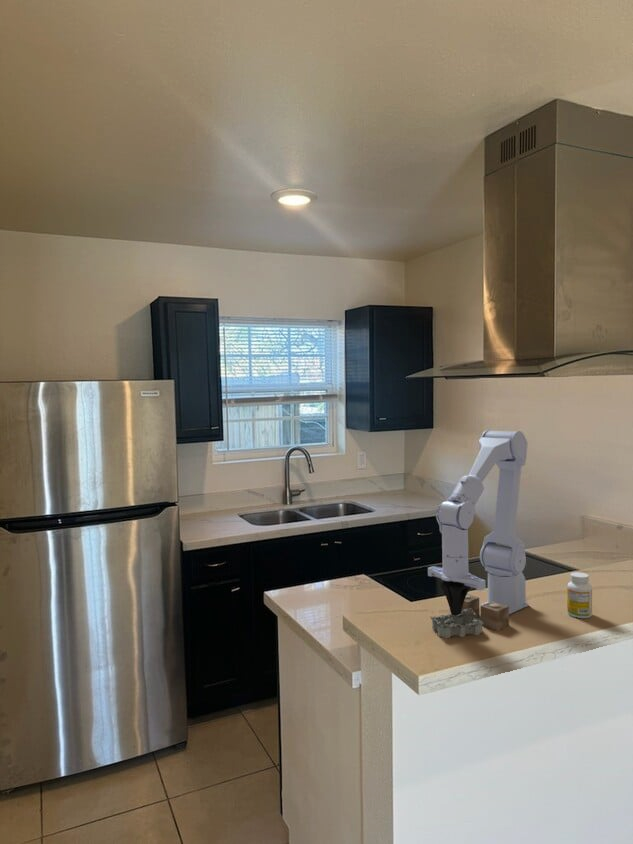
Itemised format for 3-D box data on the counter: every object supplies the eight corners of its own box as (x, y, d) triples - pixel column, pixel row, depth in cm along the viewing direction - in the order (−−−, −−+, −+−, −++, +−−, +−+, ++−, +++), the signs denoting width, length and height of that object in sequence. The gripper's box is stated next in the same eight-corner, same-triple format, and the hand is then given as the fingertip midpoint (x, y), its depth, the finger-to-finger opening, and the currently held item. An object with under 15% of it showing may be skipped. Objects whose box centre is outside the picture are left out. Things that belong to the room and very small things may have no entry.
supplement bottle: (575, 608, 144) (575, 569, 144) (596, 615, 140) (596, 574, 139) (562, 614, 141) (562, 574, 141) (584, 620, 137) (584, 579, 136)
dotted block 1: (464, 610, 145) (463, 592, 145) (479, 615, 142) (479, 596, 141) (452, 615, 142) (452, 596, 142) (468, 620, 139) (467, 601, 138)
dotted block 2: (491, 620, 139) (491, 600, 139) (508, 625, 135) (508, 605, 135) (480, 625, 136) (480, 605, 136) (497, 630, 133) (497, 610, 132)
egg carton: (473, 624, 137) (473, 607, 137) (486, 637, 130) (486, 619, 130) (429, 626, 136) (429, 609, 136) (439, 640, 129) (439, 621, 129)
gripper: (418, 551, 135) (419, 609, 136) (471, 564, 124) (472, 627, 125) (438, 546, 140) (439, 602, 140) (491, 558, 129) (491, 619, 129)
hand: (456, 613), depth 133 cm, fingers closed
